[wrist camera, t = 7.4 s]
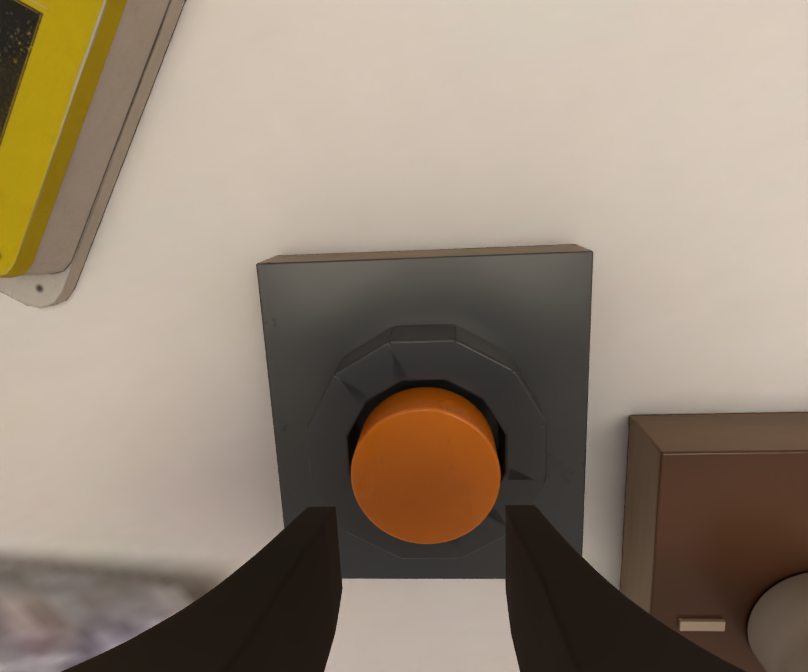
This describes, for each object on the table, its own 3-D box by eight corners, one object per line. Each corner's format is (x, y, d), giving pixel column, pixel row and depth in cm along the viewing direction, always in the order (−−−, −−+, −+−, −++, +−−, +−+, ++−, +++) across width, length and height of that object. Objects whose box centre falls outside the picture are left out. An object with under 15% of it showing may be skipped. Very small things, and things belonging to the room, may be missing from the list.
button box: (567, 540, 21) (595, 618, 17) (304, 541, 22) (275, 616, 18) (575, 243, 19) (611, 258, 15) (275, 255, 19) (235, 271, 15)
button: (495, 510, 17) (501, 545, 15) (363, 511, 17) (355, 545, 16) (494, 384, 16) (500, 406, 14) (354, 387, 16) (344, 409, 15)
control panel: (877, 698, 22) (946, 779, 19) (614, 694, 23) (640, 772, 20) (932, 409, 19) (1025, 450, 16) (629, 414, 20) (663, 455, 17)
